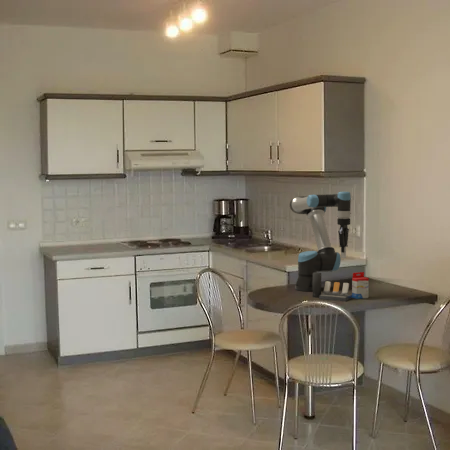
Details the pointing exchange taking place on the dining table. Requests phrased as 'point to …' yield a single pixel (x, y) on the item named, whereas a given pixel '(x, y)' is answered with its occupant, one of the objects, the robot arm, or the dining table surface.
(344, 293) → the paddle right
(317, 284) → the post
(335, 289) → the block
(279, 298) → the dining table surface
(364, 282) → the ink box
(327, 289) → the paddle left
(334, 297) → the panel
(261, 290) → the dining table surface
